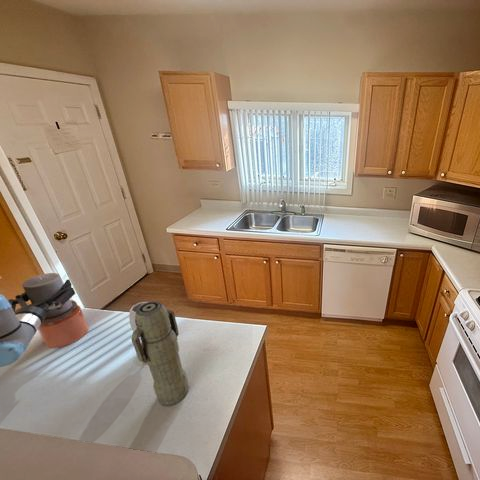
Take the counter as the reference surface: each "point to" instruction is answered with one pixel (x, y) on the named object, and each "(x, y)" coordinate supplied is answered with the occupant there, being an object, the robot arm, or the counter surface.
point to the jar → (64, 327)
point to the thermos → (160, 351)
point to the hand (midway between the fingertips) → (51, 285)
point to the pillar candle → (45, 291)
